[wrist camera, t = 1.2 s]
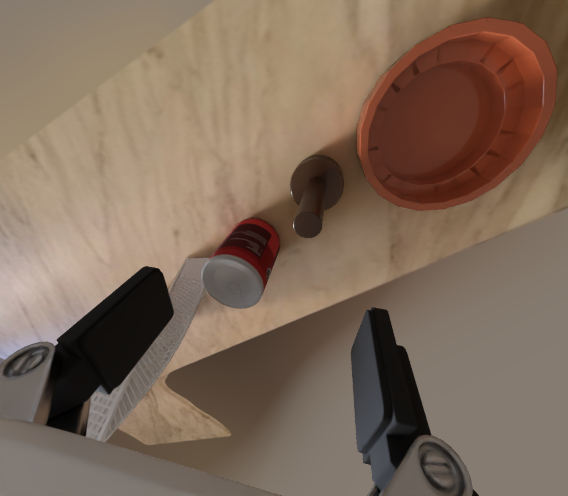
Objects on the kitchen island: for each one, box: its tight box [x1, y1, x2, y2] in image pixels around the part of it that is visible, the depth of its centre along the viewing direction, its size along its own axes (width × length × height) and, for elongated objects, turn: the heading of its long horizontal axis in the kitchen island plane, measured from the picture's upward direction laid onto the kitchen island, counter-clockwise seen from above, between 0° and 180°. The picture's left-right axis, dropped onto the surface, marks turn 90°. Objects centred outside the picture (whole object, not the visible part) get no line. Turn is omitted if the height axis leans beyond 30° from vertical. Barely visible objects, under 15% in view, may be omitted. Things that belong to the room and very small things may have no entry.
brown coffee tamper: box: [290, 155, 344, 238], centre depth 24 cm, size 6×6×13 cm
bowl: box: [356, 17, 557, 211], centre depth 22 cm, size 15×15×5 cm
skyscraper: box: [86, 258, 209, 442], centre depth 30 cm, size 8×8×28 cm
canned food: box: [201, 218, 280, 309], centre depth 31 cm, size 8×8×11 cm
